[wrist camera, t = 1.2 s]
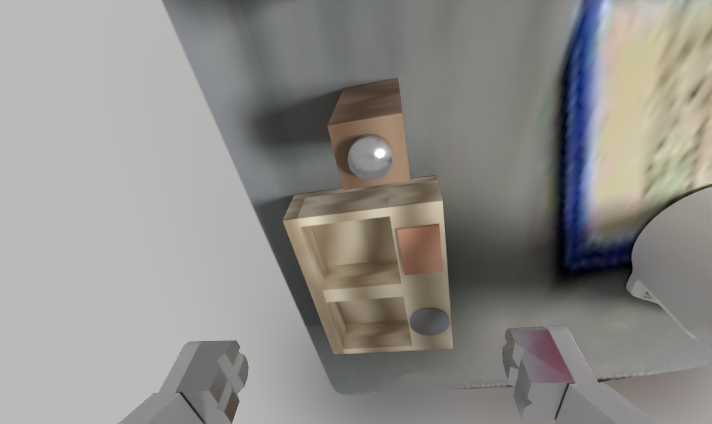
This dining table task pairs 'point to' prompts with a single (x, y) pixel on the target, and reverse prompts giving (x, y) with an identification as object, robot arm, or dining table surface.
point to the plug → (369, 135)
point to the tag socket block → (375, 265)
